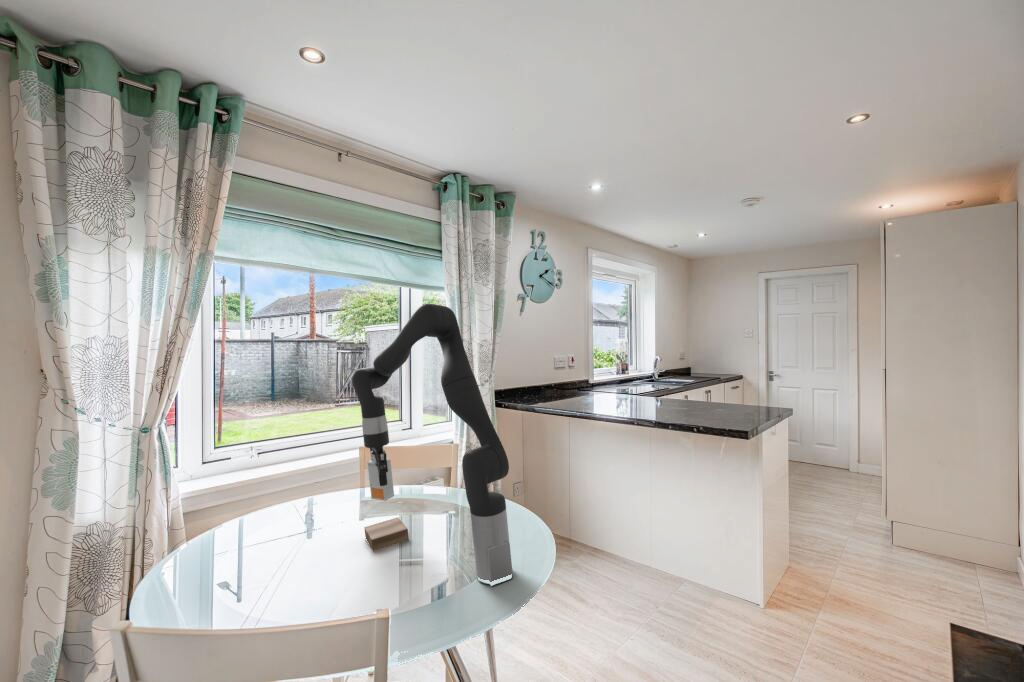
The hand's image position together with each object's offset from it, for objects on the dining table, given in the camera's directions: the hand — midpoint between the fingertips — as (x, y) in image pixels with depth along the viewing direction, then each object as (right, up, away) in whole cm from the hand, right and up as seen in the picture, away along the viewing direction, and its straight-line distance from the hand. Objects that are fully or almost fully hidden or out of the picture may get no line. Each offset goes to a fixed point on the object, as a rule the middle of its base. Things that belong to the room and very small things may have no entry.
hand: (381, 481), depth 144 cm
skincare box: (+1, -5, 0) cm, 5 cm away
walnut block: (+2, -19, +1) cm, 19 cm away
